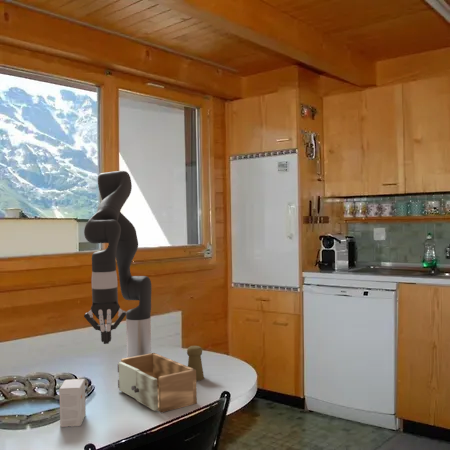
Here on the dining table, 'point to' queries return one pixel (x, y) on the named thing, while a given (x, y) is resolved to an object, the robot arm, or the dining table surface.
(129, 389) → the door
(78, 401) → the small box
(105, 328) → the robot arm
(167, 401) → the cabinet
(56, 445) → the dining table surface
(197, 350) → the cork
